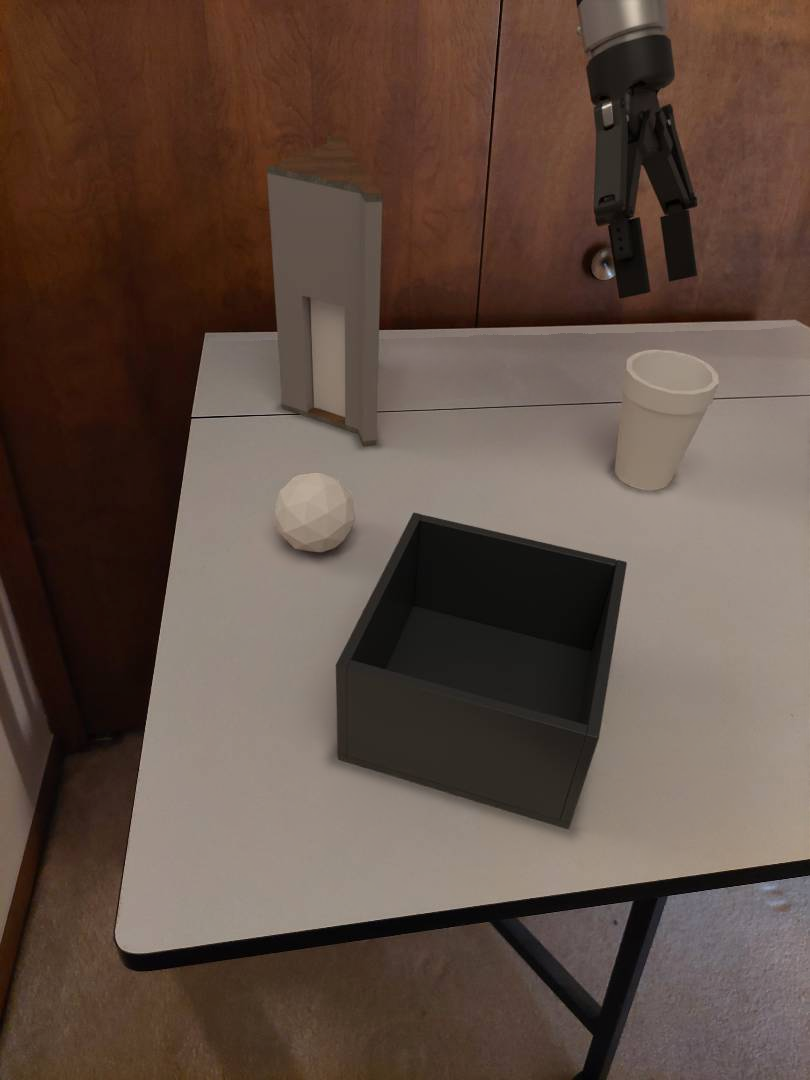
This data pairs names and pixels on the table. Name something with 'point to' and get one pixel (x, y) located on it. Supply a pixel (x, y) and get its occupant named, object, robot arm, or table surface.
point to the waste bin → (482, 667)
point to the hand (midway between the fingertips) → (660, 286)
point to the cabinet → (327, 285)
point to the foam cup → (660, 414)
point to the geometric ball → (314, 512)
